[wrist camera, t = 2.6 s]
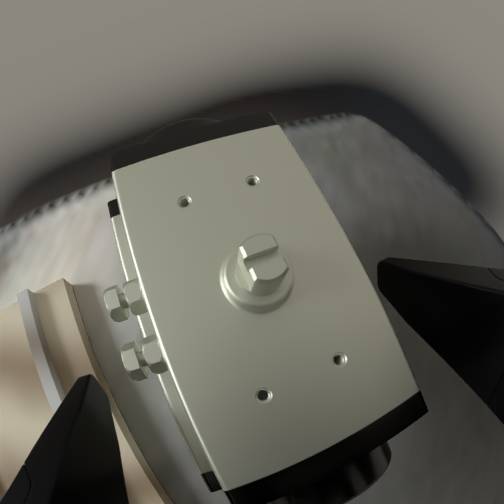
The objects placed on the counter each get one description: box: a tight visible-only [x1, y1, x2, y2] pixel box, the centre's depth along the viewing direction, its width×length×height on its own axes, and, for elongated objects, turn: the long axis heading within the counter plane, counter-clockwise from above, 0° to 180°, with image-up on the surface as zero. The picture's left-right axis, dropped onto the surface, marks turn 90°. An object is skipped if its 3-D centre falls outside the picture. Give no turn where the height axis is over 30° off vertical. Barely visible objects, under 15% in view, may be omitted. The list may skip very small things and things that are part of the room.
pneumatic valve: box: [104, 111, 428, 504], centre depth 11 cm, size 6×12×12 cm, turn 23°
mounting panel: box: [0, 278, 173, 504], centre depth 11 cm, size 22×14×2 cm, turn 28°
